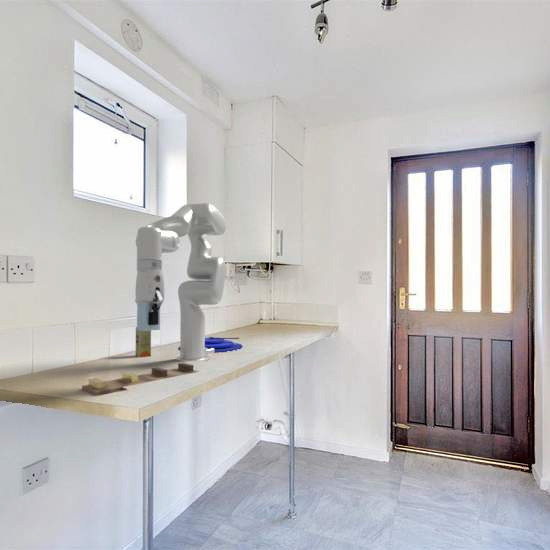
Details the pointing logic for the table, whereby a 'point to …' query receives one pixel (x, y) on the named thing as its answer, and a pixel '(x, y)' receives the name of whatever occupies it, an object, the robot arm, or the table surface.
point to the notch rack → (135, 379)
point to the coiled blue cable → (221, 344)
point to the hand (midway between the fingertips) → (148, 323)
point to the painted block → (145, 317)
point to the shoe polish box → (143, 343)
